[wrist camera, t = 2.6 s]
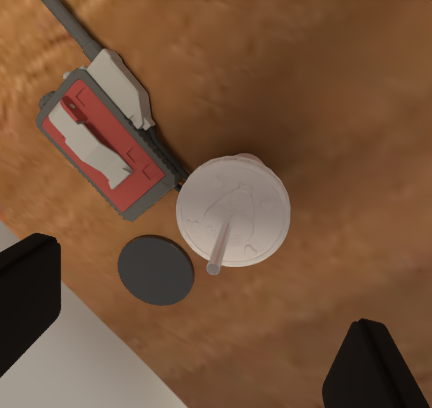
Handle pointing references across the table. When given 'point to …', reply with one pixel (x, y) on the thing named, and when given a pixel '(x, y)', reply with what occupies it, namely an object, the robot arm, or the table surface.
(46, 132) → the walkie-talkie
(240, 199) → the smoothie
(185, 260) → the coaster
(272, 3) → the table surface
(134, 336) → the table surface
